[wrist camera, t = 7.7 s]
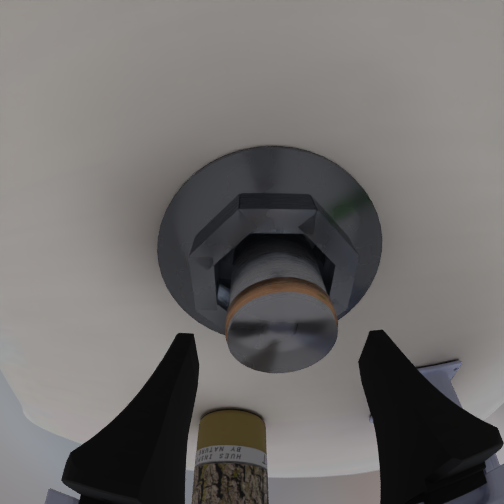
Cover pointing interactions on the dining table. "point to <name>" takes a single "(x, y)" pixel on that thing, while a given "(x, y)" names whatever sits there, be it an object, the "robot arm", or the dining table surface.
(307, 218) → the flange ring
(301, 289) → the silver metal canister
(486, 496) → the robot arm
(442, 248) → the dining table surface
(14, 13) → the dining table surface
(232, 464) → the paper tube
